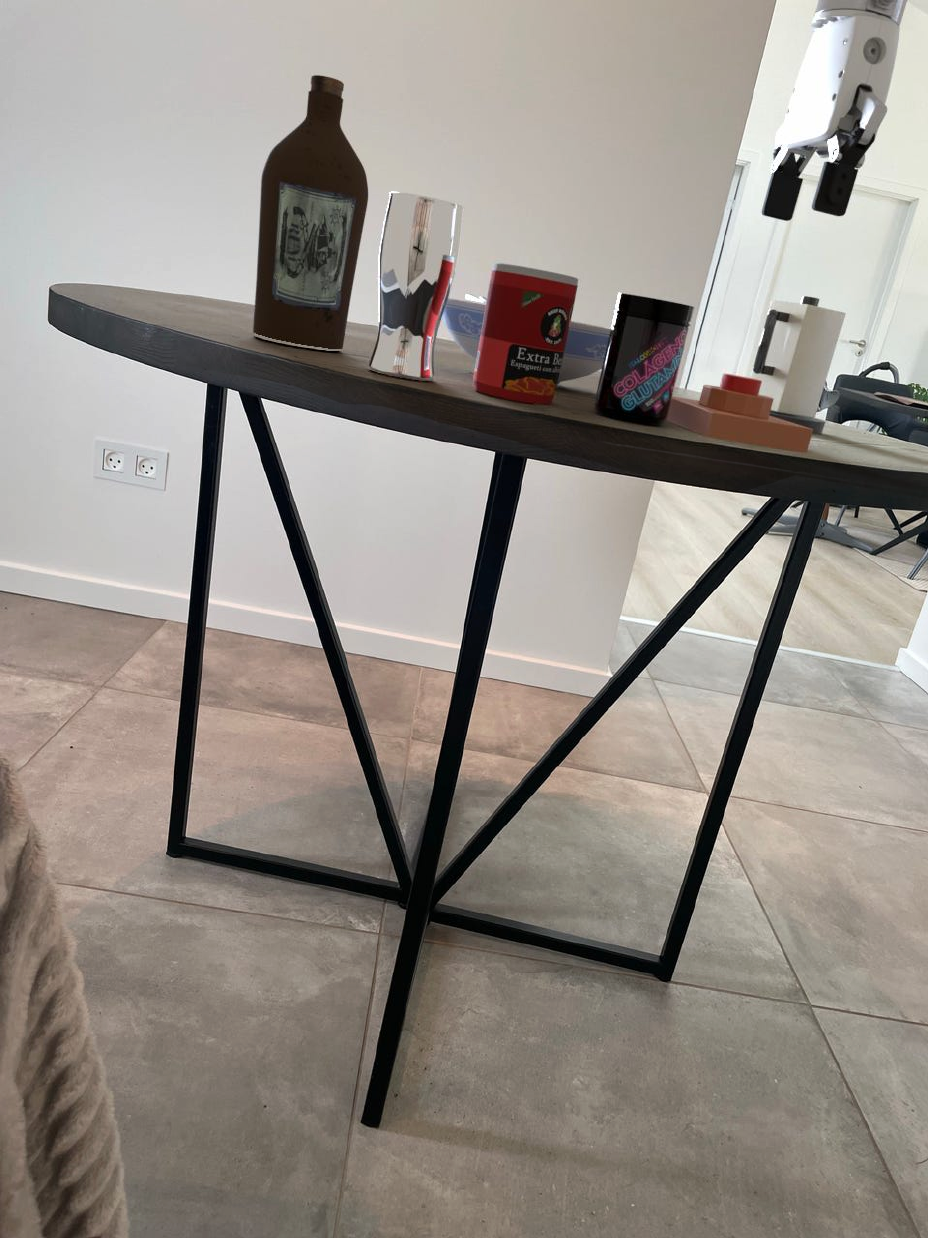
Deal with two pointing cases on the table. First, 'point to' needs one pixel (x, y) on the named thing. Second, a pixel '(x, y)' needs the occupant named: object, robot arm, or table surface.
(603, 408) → the supplement container
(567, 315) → the canned food
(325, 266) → the olive oil
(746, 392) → the button
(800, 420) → the kettle base
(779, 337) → the kettle
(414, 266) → the beer glass
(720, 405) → the switch block
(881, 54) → the robot arm
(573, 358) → the ramen bowl
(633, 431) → the table surface
